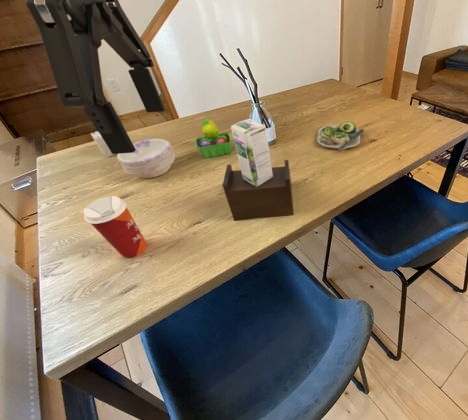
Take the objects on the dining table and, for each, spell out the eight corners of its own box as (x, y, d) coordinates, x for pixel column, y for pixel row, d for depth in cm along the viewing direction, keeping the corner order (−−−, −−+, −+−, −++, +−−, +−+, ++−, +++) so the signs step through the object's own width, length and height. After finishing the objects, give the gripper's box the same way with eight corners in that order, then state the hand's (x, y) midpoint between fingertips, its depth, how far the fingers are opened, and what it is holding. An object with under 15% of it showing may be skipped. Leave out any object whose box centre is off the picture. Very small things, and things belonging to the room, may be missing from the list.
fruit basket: (201, 161, 96) (190, 131, 88) (199, 149, 102) (189, 119, 94) (234, 154, 99) (226, 124, 91) (231, 143, 105) (223, 114, 97)
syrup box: (242, 179, 71) (228, 125, 61) (260, 169, 74) (249, 117, 64) (256, 187, 68) (244, 133, 58) (274, 177, 71) (265, 124, 61)
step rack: (293, 215, 75) (289, 179, 67) (233, 220, 74) (222, 185, 66) (291, 182, 86) (287, 148, 78) (239, 186, 85) (229, 152, 76)
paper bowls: (154, 154, 99) (145, 134, 94) (188, 162, 95) (180, 141, 89) (117, 177, 89) (104, 156, 83) (153, 188, 84) (142, 166, 79)
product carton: (125, 151, 101) (114, 132, 96) (107, 157, 98) (95, 138, 93) (119, 145, 104) (108, 127, 99) (101, 151, 101) (89, 133, 96)
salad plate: (363, 155, 97) (364, 144, 94) (313, 153, 99) (312, 141, 96) (363, 130, 112) (364, 119, 108) (320, 128, 113) (319, 117, 110)
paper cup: (157, 248, 67) (128, 205, 57) (123, 267, 63) (86, 224, 53) (144, 232, 71) (116, 189, 61) (111, 249, 67) (75, 206, 57)
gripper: (-7, -83, 19) (138, 173, 33) (131, -63, 37) (186, 97, 51) (-133, -84, 18) (71, 179, 32) (71, -62, 36) (144, 99, 51)
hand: (142, 129), depth 42 cm, fingers open, 13 cm apart
